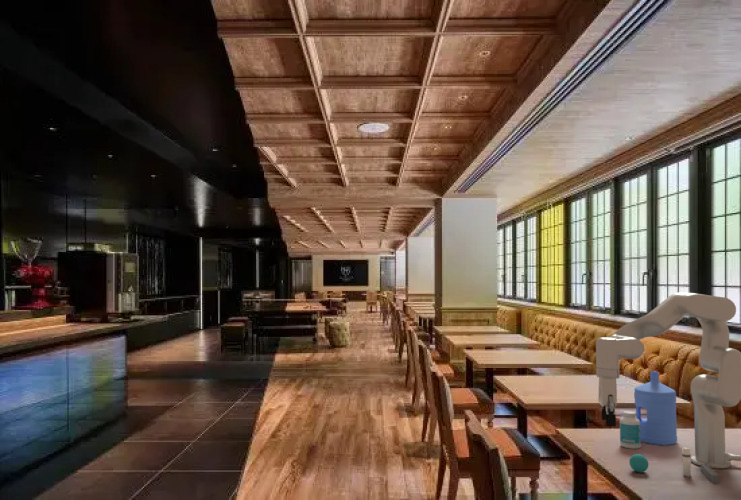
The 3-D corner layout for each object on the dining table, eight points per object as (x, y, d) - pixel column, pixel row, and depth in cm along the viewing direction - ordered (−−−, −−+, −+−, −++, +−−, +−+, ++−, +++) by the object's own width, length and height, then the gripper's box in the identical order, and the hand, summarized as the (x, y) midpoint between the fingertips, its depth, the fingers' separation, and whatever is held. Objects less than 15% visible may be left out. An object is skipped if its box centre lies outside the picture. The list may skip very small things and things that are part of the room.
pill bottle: (643, 449, 229) (643, 414, 230) (624, 449, 229) (624, 414, 230) (635, 444, 237) (634, 410, 237) (617, 444, 237) (616, 410, 237)
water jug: (678, 438, 245) (676, 371, 246) (676, 448, 231) (674, 376, 232) (637, 433, 253) (636, 368, 254) (632, 442, 239) (631, 373, 240)
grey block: (707, 471, 203) (706, 464, 203) (719, 483, 191) (718, 475, 192) (700, 471, 204) (700, 463, 204) (712, 482, 192) (712, 475, 192)
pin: (689, 474, 200) (689, 447, 200) (691, 476, 198) (691, 449, 198) (681, 473, 201) (681, 447, 201) (683, 476, 198) (683, 449, 199)
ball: (646, 469, 205) (646, 452, 205) (650, 475, 199) (650, 457, 199) (628, 468, 206) (627, 451, 207) (631, 474, 200) (631, 456, 201)
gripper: (593, 368, 216) (594, 416, 215) (600, 376, 199) (600, 428, 198) (615, 369, 214) (615, 418, 213) (623, 377, 197) (624, 429, 196)
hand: (608, 422), depth 206 cm, fingers open, 8 cm apart
